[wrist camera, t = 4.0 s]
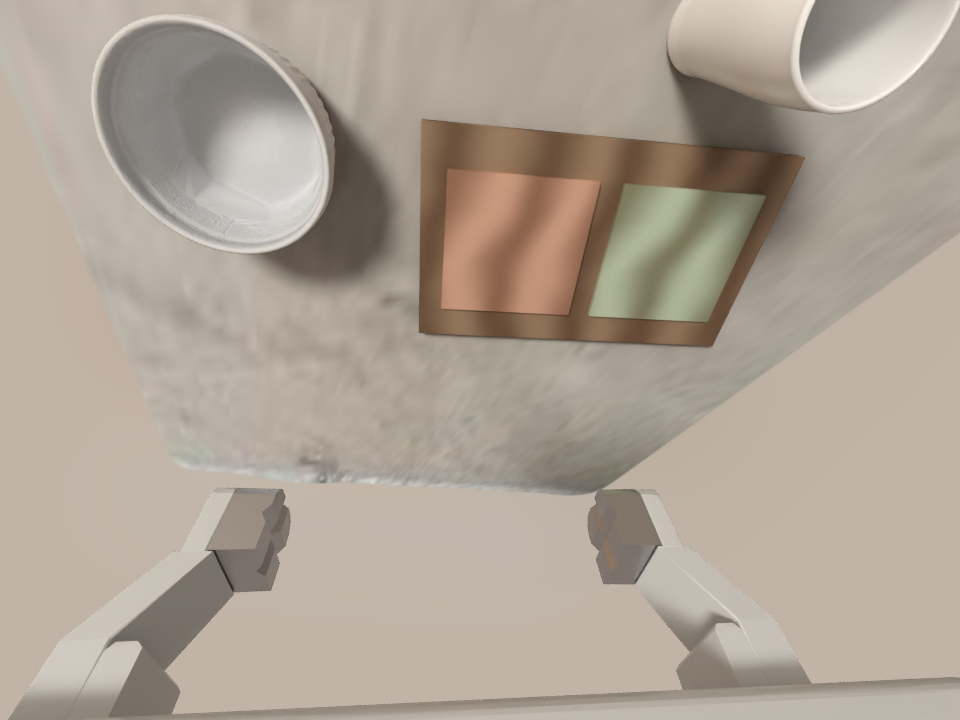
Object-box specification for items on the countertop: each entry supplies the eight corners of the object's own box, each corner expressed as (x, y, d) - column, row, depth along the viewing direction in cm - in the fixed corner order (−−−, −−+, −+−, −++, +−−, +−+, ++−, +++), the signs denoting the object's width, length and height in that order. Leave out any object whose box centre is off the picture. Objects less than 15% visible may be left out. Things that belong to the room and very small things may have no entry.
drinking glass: (730, 90, 32) (903, 120, 20) (641, 86, 31) (763, 113, 19) (771, -33, 28) (1019, -90, 16) (670, -41, 27) (846, -106, 15)
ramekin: (380, 105, 31) (365, 119, 26) (311, 252, 37) (286, 289, 32) (181, -35, 26) (108, -56, 21) (138, 161, 32) (74, 185, 27)
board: (796, 155, 35) (808, 158, 34) (707, 340, 45) (713, 348, 44) (422, 119, 32) (421, 122, 31) (419, 327, 42) (418, 335, 41)
